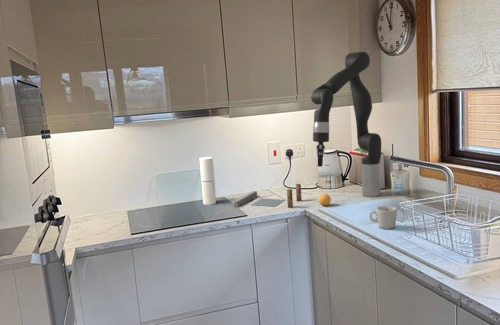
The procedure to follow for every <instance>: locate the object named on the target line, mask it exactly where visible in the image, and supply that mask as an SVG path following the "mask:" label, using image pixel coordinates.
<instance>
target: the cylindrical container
mask: <svg viewBox="0 0 500 325" xmlns="http://www.w3.org/2000/svg"><path fill="white" fill-rule="evenodd" d="M199 168H200V169H199V170H200V180H201V191H202V192H201V194H202V204H203V205H207V206H208V205H214V204H216V203H217V196H216V194H217V193H216V184H215V182H216V181H215V172H214V171H215V169H214V158H213V157H212V156H204V157H199Z"/></svg>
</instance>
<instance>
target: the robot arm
mask: <svg viewBox="0 0 500 325" xmlns="http://www.w3.org/2000/svg"><path fill="white" fill-rule="evenodd" d="M370 60H371V59H370V55H369V53H368V52H366V51H357V52H351V53H348V54H347V55H346V56H345V59H344V66H345V68H343V69H342V70H340V71H337V73H335V74H334V75H332V76H331V77H330V78H329V79H328V80H327V81H326V82H325V83H323V84H321V85H319V86H318V87H317V88H315V89H314V90H313V91H312V92H311V95H310V99H311V101H312V103H313V104H315V105H320V106H319V108H318V109H316V110H315V111H314V112H313V127H312V128H313V131H312V142H314V143H317V145H316V156H317V167H323V165H324V164H323V163H324V160H323V159H324V155H325V150H326V145H325V144H324V143H328V142H330V112H331V109H332V106H333V102H334V95H335V94H337V93H338V92H339V91H340V90H341V89H342V88H343V87H344V86H345V85H346V84H348V83H349V86H350V91H351V97H352V104H353V111H354V117H355V125H356V138H357V144H358V147H359V148H360V150H362V151H367V152H368V153H367V155H366V156H364V157H362V158H361V180H362V181H361V184H362V186H361V187H362V189H361V191H362V196H363V197H368V198H369V197H371V198H375V197H379V196H381V163H380V162H381V158H382V138H381V136H380V134H378V133H374V132H369V127H368V124H369V123H368V122H369V119H370V117H371V113H372V110H373V102H372V97H371V96H372V95H371V93H370V92H369V90H368V89H367V87H366V86H365V85H364V83H363V82H362V80H361V77H360V74H361V73H362V72H364V71H365V70H366V69H367V68H368V67H369V66H370V62H371V61H370Z"/></svg>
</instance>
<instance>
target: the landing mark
mask: <svg viewBox="0 0 500 325" xmlns="http://www.w3.org/2000/svg"><path fill="white" fill-rule="evenodd" d="M284 201H286V199H280V198H279V199H278V198H276V199H275V198H259V199H258V200H257V201H255V202H253V203H251V204H250V206H257V207H259V206H260V207H261V206H262V207H273V206H274V207H275V206H276V207H277V206H278V205H280V204H283V202H284Z"/></svg>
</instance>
